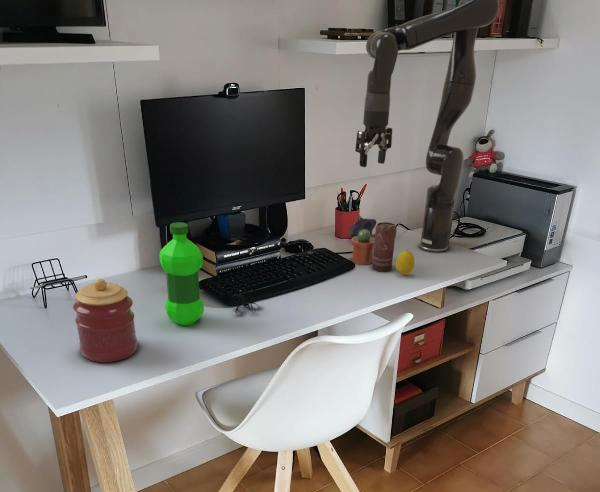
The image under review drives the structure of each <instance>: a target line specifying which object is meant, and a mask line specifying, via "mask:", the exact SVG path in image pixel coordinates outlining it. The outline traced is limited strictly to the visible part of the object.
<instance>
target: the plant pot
mask: <svg viewBox="0 0 600 492" xmlns="http://www.w3.org/2000/svg"><path fill="white" fill-rule="evenodd" d="M374 241H375V238H372V237H371V234H370V232H369V231H368V230H365V229H364V230H361V231H360V232H359V234H358V236H356V237H351V245H352V257H351V262H353V263H354V264H357V265H370V264H372V263H373V252H374Z"/></svg>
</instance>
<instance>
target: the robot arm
mask: <svg viewBox="0 0 600 492" xmlns="http://www.w3.org/2000/svg"><path fill="white" fill-rule="evenodd" d="M499 7H500V4H499V0H460V1H459V2H458V5H457V6H455V7H452V8H449V9H446V10H442V11H438V12H434V13H429V14H427V15H423V16H420V17H417V18H414V19H412V20H409V21H407V22H404V23H402V24H400V25H396V26H392V27H388V28H383V29H381V30H378V31H375V32H373V33H372V34H371V35H370V36H369V37H368V38H367V40H366V44H365V50H366V53H367V55H368V56H369V57H370V58H372V59H374V62H373V66H372V69H371V70H369V72H368V74H367V81H366V92H365V97H364V106H363V108H364V109H363V120H362V121H363V123H362V124H363V125H364V127H365V128H364V131H362V130H357V131H356V140H355V152H356V153H358V154H359V166H360V167H362V168H366V167H367V166H368V155H369V154H368V153H369V152H370V150H371V149H372V148H373V147H374V146H376V145H377V147H378V154H377V163H378V164H381V165H384V164H385V161H386V154H387V151H388V149H391V148H392V144H393V127H388V125H389V121H390V119H389V118H390V109H391V91H392V90H391V87H392V76H393V73H394V70H395V67H396V63H397V59H398V55H399V52H401V51H409V50H410V51H411V50H414V49H416V48H419V47H422V46H423V45H426V44H429V43H431V42H434V41H436V40H439V39H442V38H443V37H447V36H449V35H451V34H453V38H452V44H451V50H450V55H449V58H448V59H449V60H448V65H447V70H446V75H445V79H444V81H443V82H444V83H443V87H442V93H441V98H440V104H439V108H438V113H437V118H436V121H435V125H434V128H433V131H432V136H431V138H430V142H429V145H428V148H427V152H426V157H425V167H426V171H428V173H431V174H434V175H438V176H441V177H440V180H439V183H438V184H432V185H430V186H428V187H427V190H426V197H425V205H424V213H423V221H422V228H421V235H420V236H421V237H420V243H419V247H420V248H421V249H422V250H424V251H428V252H434V253H440V252H446V251H448V248H449V247H450V241H451V234H452V227H453V215H454V214H453V213H454V206H455V201H456V200H455V199H456V194H457V191H458V190H459V186H460V182H461V176H462V171H463V167H464V159H465V158H464V157H465V156H464V152H463V150H462V148H459V147H457V146H453V145H449V144H448V143H449V139H450V136H451V132H452V130H453V128H454V127H455V125H456V123H457V122H458V120H460V119H461V117H462V116H463V115H464V113H465V112H466V110H467V109H468V107H469V106H470V104H471V102H472V99H473V95H474V91H475V87H476V86H475V85H476V82H477V67H476V60H475V45H476V39H477V36H478V32H479V28H485V27H487V26H489V25H490V24H492V23H493V21H494V20H495V19H496V18H497V17H498V16H497V15H498V13H499V9H500V8H499Z"/></svg>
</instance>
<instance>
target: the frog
mask: <svg viewBox="0 0 600 492" xmlns="http://www.w3.org/2000/svg"><path fill="white" fill-rule="evenodd" d="M358 221H359V222H358ZM354 223H355V224H354ZM354 223H353V224H354V225H353V224H352V225H353V226H352V227H350V228H349V229H348V230H349V232H348V234H349V236H350V237H351V238H353V237H356V236H358V234H359V232H360V231H361V230H364V229H365V230H368V231H369V232H370V234H371V237H372V238H375V234H373V230H374V229H375V228H376V226H377V224H378V223H377V220H376V219H375V218H363V217H360V219H359V218H358V217H357V219H356V222H354Z"/></svg>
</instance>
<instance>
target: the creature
mask: <svg viewBox="0 0 600 492" xmlns="http://www.w3.org/2000/svg"><path fill="white" fill-rule="evenodd" d="M246 289H247V287H245V288H244V290H243V291H242V292H241V293H240V294H239V295H237V297H235V296H234V295H233V294H231V293H230V292H229V293H227V294H228V295H230V296H231V298H232V299H233V300H234V301H235V302H236V308H235V314H236V315H237V316H239V317H242V315H243V314H244V311H241V312H240V311H239V308H240V307H241V306H243V307H244V308H248V310H249V311H251V312H252V313H254V312H255V313H257V312H256V310H260V308H258V309H256V308H254V307H253V304H254V305H256V306H258V303H256V302H253V301H252V299H251V298H252V296H251V295H250V296H249V295H247V296H246V297H245V296H243V294H244V293H245V291H246ZM246 298H248V299H246ZM247 300H248V301H247ZM237 311H238V312H240V314H238V313H237Z"/></svg>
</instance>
